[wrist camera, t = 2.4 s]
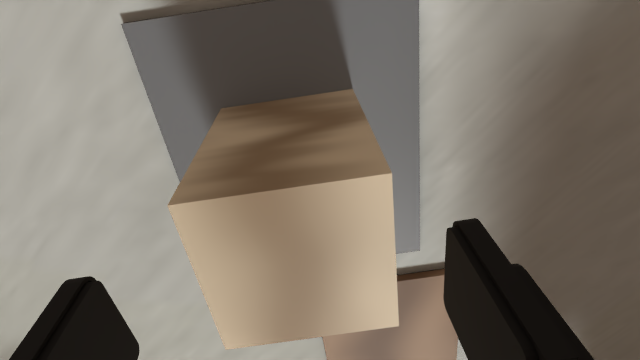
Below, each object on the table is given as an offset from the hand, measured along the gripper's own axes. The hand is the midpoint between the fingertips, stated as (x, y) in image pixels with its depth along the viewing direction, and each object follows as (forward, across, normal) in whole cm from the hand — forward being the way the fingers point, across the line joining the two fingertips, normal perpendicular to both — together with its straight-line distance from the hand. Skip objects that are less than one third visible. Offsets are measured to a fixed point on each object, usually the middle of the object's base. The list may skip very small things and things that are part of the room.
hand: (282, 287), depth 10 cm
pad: (+9, -4, +14) cm, 17 cm away
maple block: (+9, 0, +1) cm, 9 cm away
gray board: (+9, 0, +1) cm, 9 cm away
